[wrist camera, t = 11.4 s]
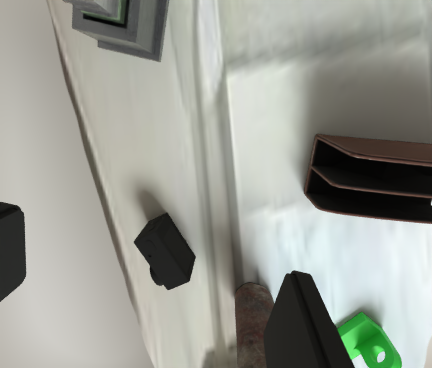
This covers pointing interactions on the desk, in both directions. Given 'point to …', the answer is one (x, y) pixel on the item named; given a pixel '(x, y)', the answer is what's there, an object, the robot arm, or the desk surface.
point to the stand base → (129, 29)
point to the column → (102, 9)
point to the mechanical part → (368, 342)
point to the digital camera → (166, 252)
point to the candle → (252, 324)
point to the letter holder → (371, 178)
